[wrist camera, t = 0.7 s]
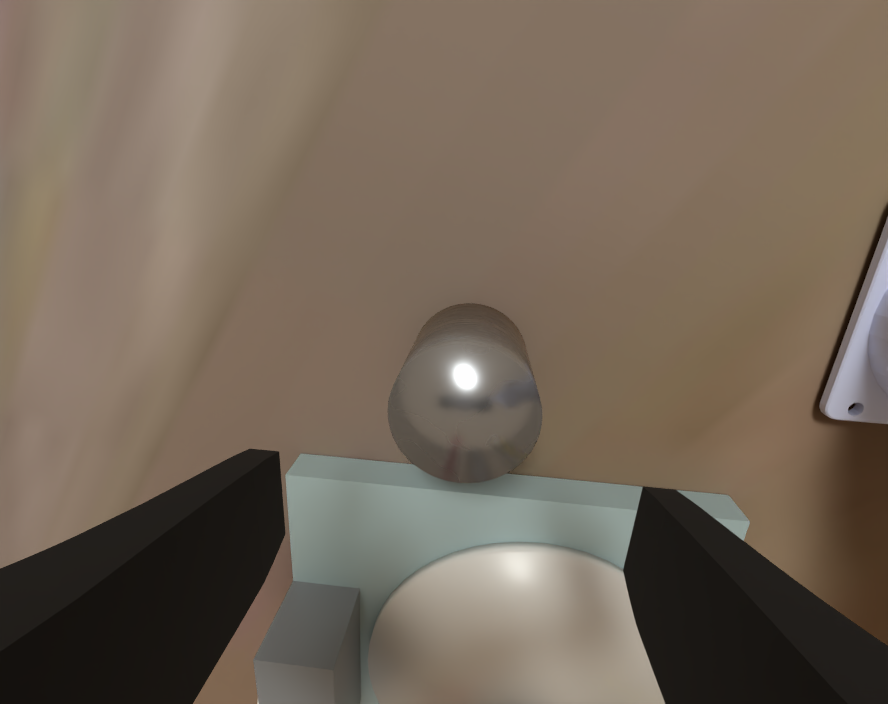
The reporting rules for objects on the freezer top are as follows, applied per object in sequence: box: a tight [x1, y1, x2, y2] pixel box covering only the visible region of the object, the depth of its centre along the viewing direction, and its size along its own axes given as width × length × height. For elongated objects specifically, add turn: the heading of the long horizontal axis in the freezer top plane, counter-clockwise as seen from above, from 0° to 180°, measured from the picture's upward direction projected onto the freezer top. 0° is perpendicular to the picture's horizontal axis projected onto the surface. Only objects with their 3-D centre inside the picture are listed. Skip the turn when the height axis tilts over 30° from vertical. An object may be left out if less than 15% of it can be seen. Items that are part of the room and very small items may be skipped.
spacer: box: [388, 303, 542, 483], centre depth 15 cm, size 4×4×5 cm
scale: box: [253, 454, 750, 704], centre depth 19 cm, size 18×18×5 cm
